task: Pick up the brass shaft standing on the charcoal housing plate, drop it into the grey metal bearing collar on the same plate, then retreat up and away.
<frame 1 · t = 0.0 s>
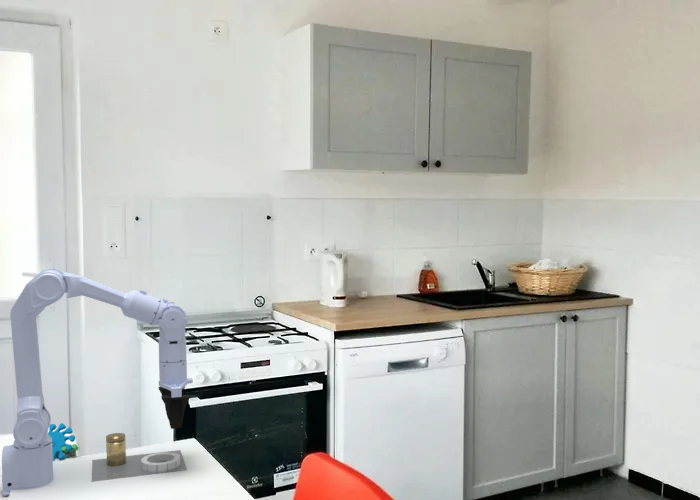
hand: (174, 423, 158), 10 cm above the table, fingers open, 7 cm apart
brass shaft: (116, 462, 160), point 1 cm above the table, touching housing plate
housing plate: (138, 469, 159), on the table
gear: (55, 461, 166), on the table
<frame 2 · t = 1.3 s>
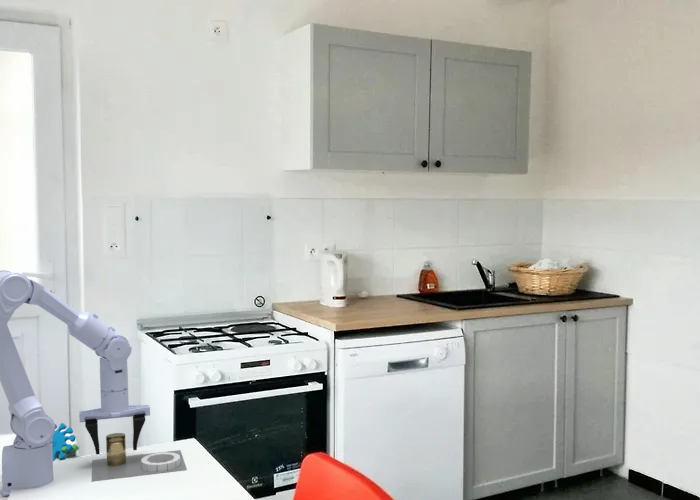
hand: (116, 450, 160), 4 cm above the table, fingers open, 7 cm apart
nothing on the table moved.
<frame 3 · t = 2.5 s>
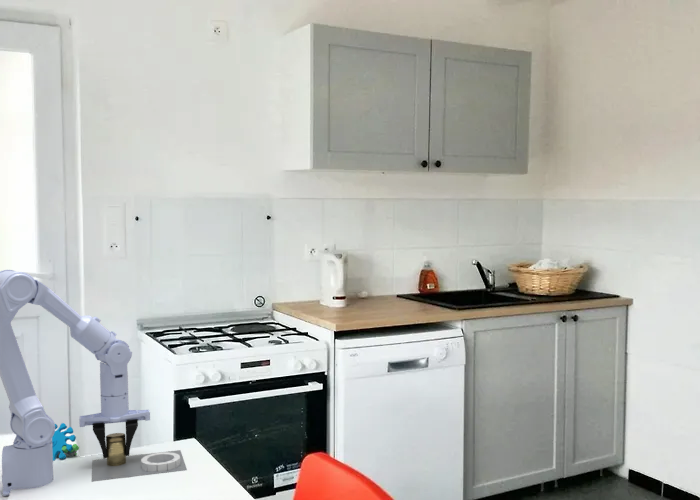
hand: (116, 455, 160), 3 cm above the table, fingers closed on brass shaft, 4 cm apart
brass shaft: (116, 462, 160), point 1 cm above the table, touching gripper, housing plate
everything else where it was.
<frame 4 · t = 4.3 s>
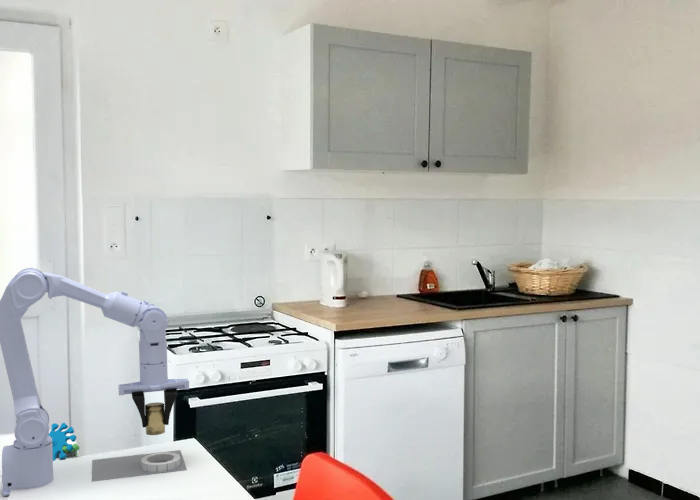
hand: (155, 424, 158), 10 cm above the table, fingers closed on brass shaft, 4 cm apart
brass shaft: (155, 432, 159), point 8 cm above the table, touching gripper
everything else where it was.
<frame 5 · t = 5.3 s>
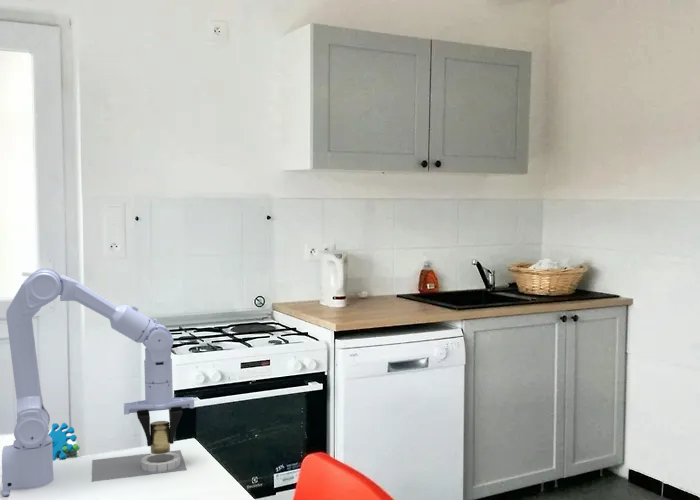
hand: (160, 443, 158), 6 cm above the table, fingers closed on brass shaft, 4 cm apart
brass shaft: (160, 451, 159), point 4 cm above the table, touching gripper
everything else where it was.
when the fingers open (5 cm above the table, at t = 6.3 s): brass shaft drops 2 cm, resting on housing plate.
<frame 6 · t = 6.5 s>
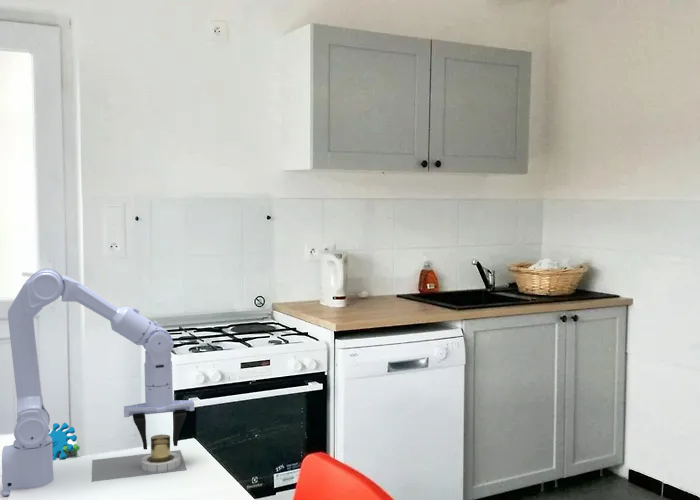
hand: (160, 446, 158), 5 cm above the table, fingers open, 6 cm apart
brass shaft: (160, 464, 159), point 1 cm above the table, touching housing plate
everything else where it was.
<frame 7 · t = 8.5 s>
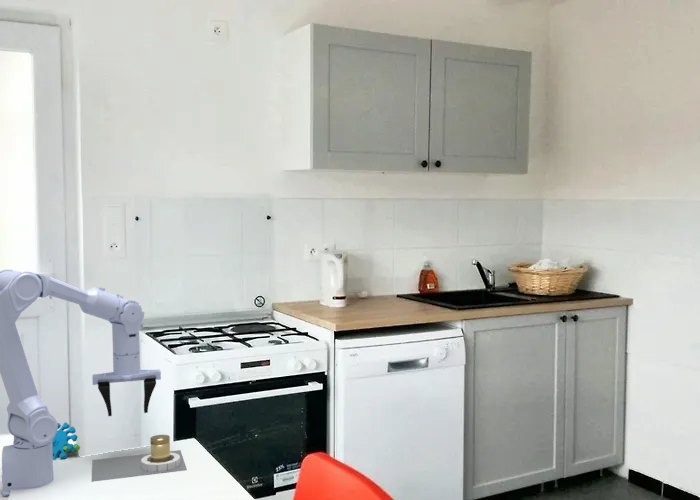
hand: (128, 413, 165), 10 cm above the table, fingers open, 7 cm apart
nothing on the table moved.
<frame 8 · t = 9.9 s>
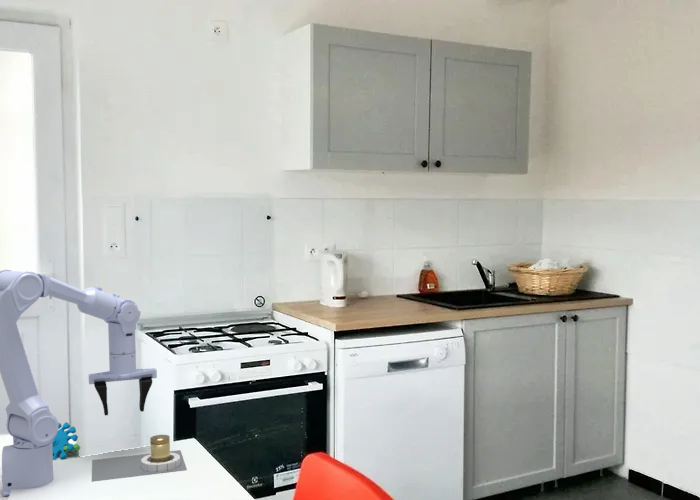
hand: (124, 412, 166), 10 cm above the table, fingers open, 7 cm apart
nothing on the table moved.
at the end: brass shaft 0.2 cm from the target spot on the housing plate, point 1.0 cm above the housing plate's base; brass shaft tilted 0°; the gripper is holding nothing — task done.
